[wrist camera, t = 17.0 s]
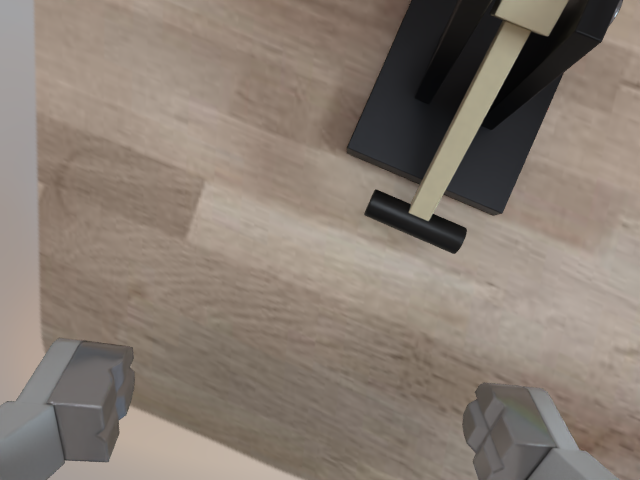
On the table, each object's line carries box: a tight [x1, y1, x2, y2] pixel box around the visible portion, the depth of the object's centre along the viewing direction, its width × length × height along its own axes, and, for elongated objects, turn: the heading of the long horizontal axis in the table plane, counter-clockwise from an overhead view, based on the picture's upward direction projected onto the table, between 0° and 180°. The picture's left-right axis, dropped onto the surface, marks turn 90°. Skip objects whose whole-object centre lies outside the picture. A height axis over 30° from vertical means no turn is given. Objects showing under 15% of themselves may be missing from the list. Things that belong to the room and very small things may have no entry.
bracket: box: [347, 0, 623, 215], centre depth 22 cm, size 13×10×13 cm
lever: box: [364, 0, 569, 254], centre depth 20 cm, size 13×5×2 cm
